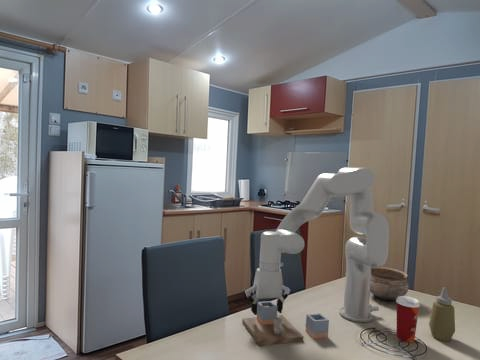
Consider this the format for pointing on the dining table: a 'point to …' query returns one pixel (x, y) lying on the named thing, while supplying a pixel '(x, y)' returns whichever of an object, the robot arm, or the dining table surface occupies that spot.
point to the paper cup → (407, 318)
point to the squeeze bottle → (442, 317)
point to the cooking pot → (388, 283)
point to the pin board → (272, 331)
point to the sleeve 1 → (266, 312)
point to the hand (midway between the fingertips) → (266, 312)
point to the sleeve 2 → (317, 325)
